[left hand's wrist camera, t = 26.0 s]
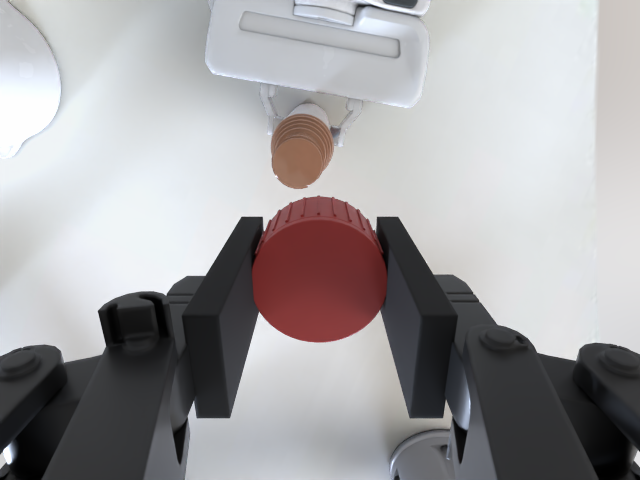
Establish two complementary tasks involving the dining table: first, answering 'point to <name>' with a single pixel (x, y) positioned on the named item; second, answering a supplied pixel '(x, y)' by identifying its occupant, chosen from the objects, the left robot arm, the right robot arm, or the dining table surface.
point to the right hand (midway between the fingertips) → (305, 140)
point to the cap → (319, 271)
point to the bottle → (302, 146)
